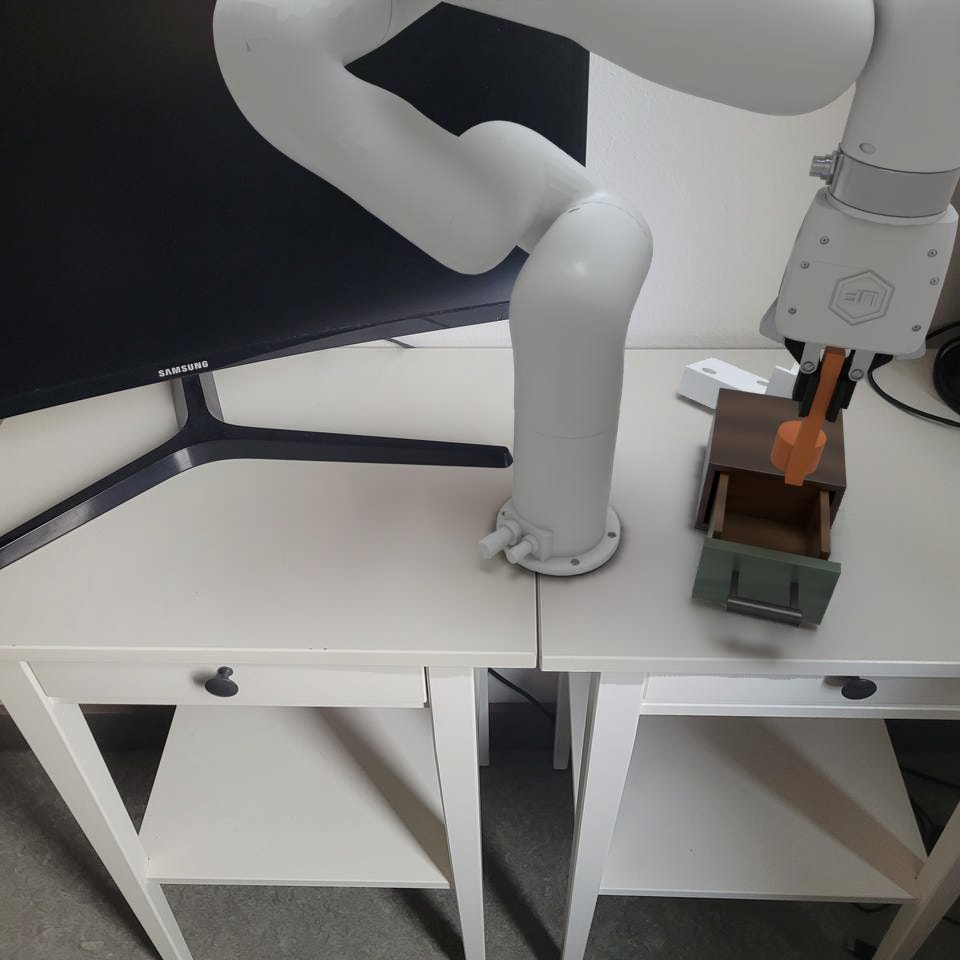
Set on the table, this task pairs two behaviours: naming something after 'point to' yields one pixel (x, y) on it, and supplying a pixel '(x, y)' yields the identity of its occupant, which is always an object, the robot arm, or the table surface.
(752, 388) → the bracket
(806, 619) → the drawer
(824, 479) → the cabinet
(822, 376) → the scoop
